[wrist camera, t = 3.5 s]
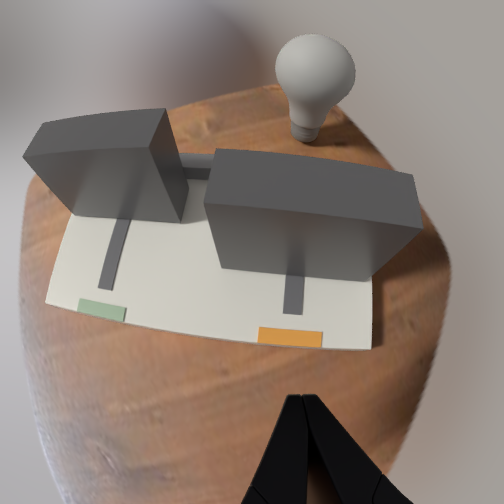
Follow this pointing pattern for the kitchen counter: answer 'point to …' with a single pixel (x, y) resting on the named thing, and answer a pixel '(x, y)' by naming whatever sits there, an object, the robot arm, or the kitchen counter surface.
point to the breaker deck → (200, 283)
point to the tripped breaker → (308, 214)
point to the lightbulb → (313, 80)
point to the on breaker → (113, 165)
